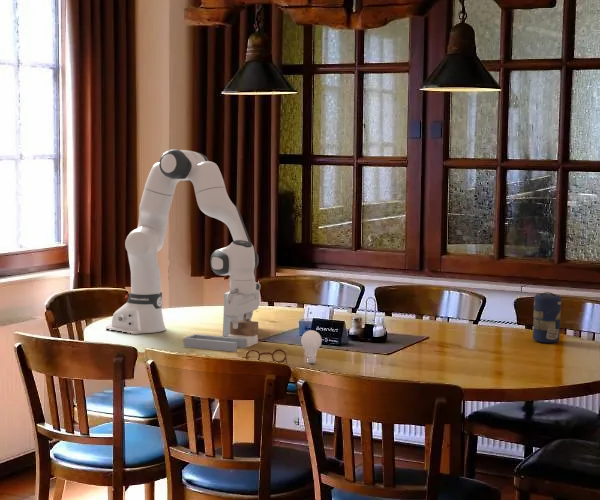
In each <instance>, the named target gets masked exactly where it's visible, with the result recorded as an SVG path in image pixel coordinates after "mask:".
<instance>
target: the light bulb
mask: <svg viewBox="0 0 600 500" xmlns="http://www.w3.org/2000/svg"><path fill="white" fill-rule="evenodd" d="M322 340H323V339H322V335H320V333H319V332H317V331H316V330H312V329H311V330H310V329H309V330H306V331H305V332H304V333H303V334H302V336H301V337H300V343H301V347H302V348H303V349H304V351H305V357H306V363H308V364H309V365H313V364H315V363H316V359H317V355H318V351H319V349H320V347H321V345H322V342H323V341H322Z"/></svg>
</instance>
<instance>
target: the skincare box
mask: <svg viewBox="0 0 600 500" xmlns="http://www.w3.org/2000/svg"><path fill="white" fill-rule="evenodd" d="M229 293H230V290H229V291H226V292H225V293H224V294H223V297H224V298H223V319H222V320H223V321H222V322H223V323H222V337H227V335H229V334H230V322H231V321H232V320H231V317H226V315H225V304H226V298H227V296H228V294H229ZM246 315H247V314H246V313H245V314H243V315H240V316H238V320H243V321H245V319H246Z"/></svg>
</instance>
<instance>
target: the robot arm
mask: <svg viewBox="0 0 600 500" xmlns="http://www.w3.org/2000/svg"><path fill="white" fill-rule="evenodd" d="M180 181H184V182H191V183H192V185H193V189H194V194H195V198H196V202H197V203H196V204H197V207H198V208H199V210H200V211H201V212H202V213H203V214H204V215H206V216H208V217H210V218H214V219H216V220H218V221H221V222H222V223H224V224H225V225H226V226H227V228H228V229H229V232H230V234H231V237H232V240H233V241H232V242H231V243H230V244H229V245H227V246H225V247H222V248H219V249H215V250H214V251H213V252H212V254H211V256H210V261H209V262H210V268H211V270H212V271H213V273H214V274H216V275H217V276H229V291H230V293H229V294H228V296H227V298H226V304H225V315H226V317H231V320H232V323H233V328H234V329H237V328H239V323H238V316H240V315H243V314H245V313H246V314H247V315H246V319H245V321H252V318H253V315H254V311H256V310H258V309H259V306H260V295H261V294H260V290H261V284H260V282H257V281H256V277H255V272H254V271H255V270H256V269H257V267H258V265H259V254H258V253H257V250H256V249H255V246H254V245H253V244H252V242H251V239H250V235H249V233H248V231H247V228H246V226H245V222H244V220H243V217H242V215H241V212H240V210H239V209H238V206H237V205H235V204H234V203H233V202H232V200H231V199H230V197H229V195H228V192H227V189H226V185H225V180H224V178H223V175H222V173H221V171H220V168H219V166H218V165H217V163H215V162H213V161H210V160H209V158H208V157H207V156H206V155H204V154H203V153H201V152H199V151H198V152H197V151H194V150H193V151H192V150H188V149H169V150H166V151H165V152H163V153H162V154H161V156H160V159H159V161H158V162H155V163H154V164H153V165H152V167H151V169H150V171H149V173H148V176H147V178H146V181H145V184H144V188H143V192H142V194H141V195H142V196H141V200H140V203H139V206H138V208H139V212H138V222H137V223H138V224H137V228H135V229H133V230H131V231H130V232H129V234H128V235H127V236H126V239H125V241H124V242H125V243H124V245H125V246H124V247H125V250H126V251H127V258H128V264H129V269H130V291H131V292H129V293H127V294H125V295H124V296H125V297H124V299H126V303H124V304H123V305H122V306H121V307H119V308H118V309H117V310H115V312H114V313H112V314H113V315H112V320H111V323H110V324H108V325H106V326H105V330H106V329H111V330H117V331H122V332H121V333H123V332H127V333H126V334H130V333H131V335H138V334H151V333H153V334H154V333H161V332H163V331H166V330H167V329H166V325H165V321H164V315H163V310H162V309H163V308H162V307H163V292H162V275H161V274H162V271H161V269H160V266H159V259H158V252H160V251H161V250H162V248H163V246H164V244H165V242H166V234H167V227H168V219H169V214H170V209H171V207H172V202H173V199H174V195H175V192H176V191H175V190H176V187H177V185H178V183H179V182H180ZM111 330H110V331H111ZM117 331H116V332H117Z"/></svg>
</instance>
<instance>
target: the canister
mask: <svg viewBox="0 0 600 500" xmlns="http://www.w3.org/2000/svg"><path fill="white" fill-rule="evenodd" d="M533 299H534V300H533V314H532V316H533V324H532V325H533V326H532V340H534V341H536V342H537V343H538V342H540V343H547V344H551V343H552V344H553V343H554V344H555V343H558V342H559V341H560V338H561V337H560V333H561V332H560V331H561V312H562V311H561V310H562V297H561V296H560V295H559V294H555V293H553V292H548V291H546V292H545V291H544V292H541V293H537V294H535V295H534V297H533Z"/></svg>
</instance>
